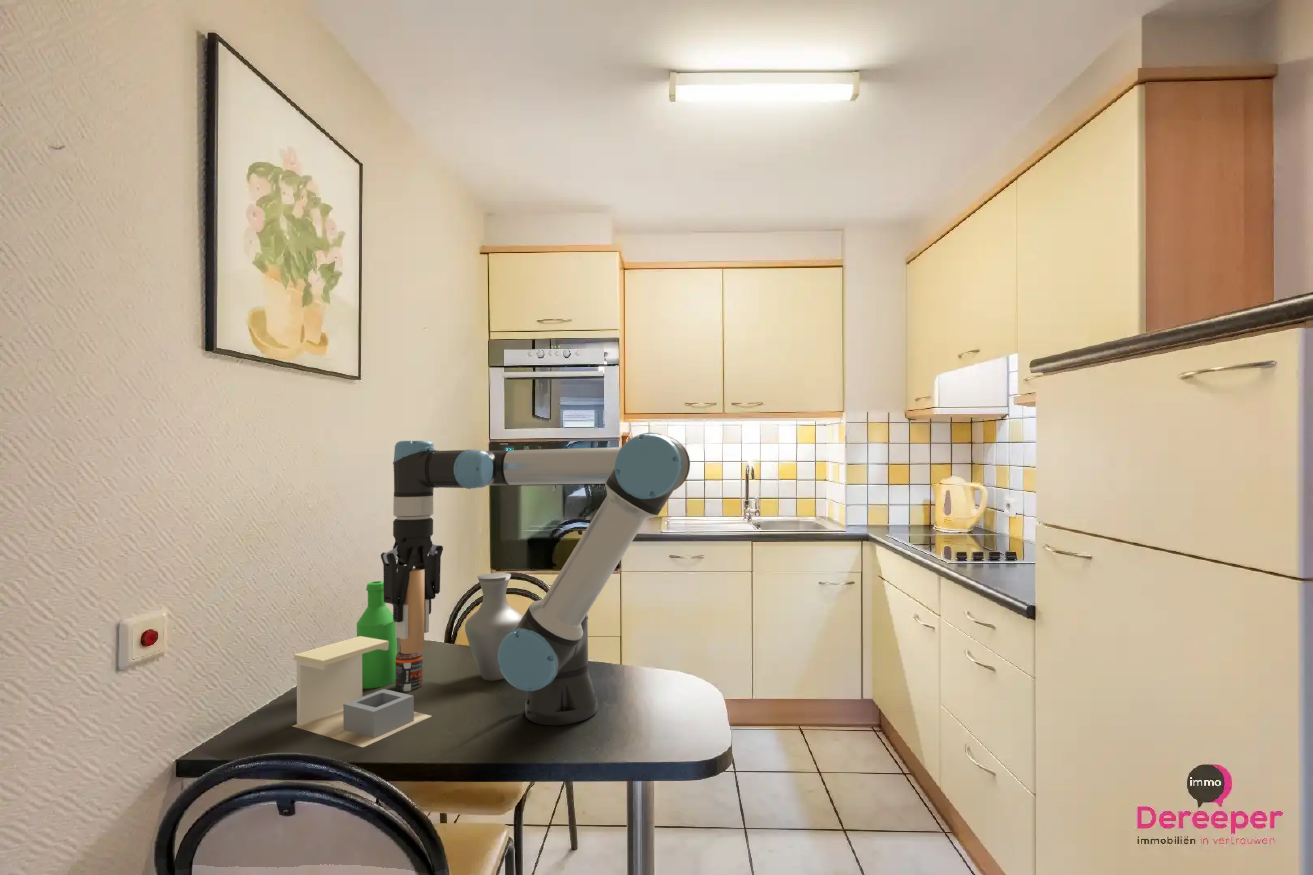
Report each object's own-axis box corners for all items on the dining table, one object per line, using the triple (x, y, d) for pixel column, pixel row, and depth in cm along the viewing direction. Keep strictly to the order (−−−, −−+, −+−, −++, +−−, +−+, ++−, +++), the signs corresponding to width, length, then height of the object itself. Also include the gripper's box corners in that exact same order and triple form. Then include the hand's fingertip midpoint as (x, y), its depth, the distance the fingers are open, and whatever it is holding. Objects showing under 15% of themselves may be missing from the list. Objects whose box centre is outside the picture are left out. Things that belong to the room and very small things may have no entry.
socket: (413, 720, 129) (413, 695, 129) (374, 738, 121) (373, 711, 121) (383, 713, 133) (383, 688, 134) (343, 729, 125) (343, 703, 126)
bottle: (398, 678, 159) (397, 577, 160) (395, 690, 150) (394, 583, 151) (359, 683, 156) (358, 580, 157) (354, 695, 148) (353, 586, 149)
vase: (485, 665, 168) (483, 569, 168) (535, 668, 164) (533, 570, 165) (453, 684, 154) (452, 579, 155) (507, 688, 150) (505, 581, 151)
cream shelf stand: (389, 706, 137) (388, 640, 137) (323, 733, 124) (323, 660, 124) (360, 699, 142) (360, 635, 142) (294, 724, 128) (293, 654, 129)
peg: (428, 649, 128) (429, 569, 129) (410, 655, 124) (411, 572, 125) (413, 646, 130) (414, 567, 131) (395, 651, 126) (396, 570, 127)
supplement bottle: (413, 697, 146) (412, 647, 146) (390, 695, 147) (389, 646, 147) (427, 688, 152) (427, 639, 152) (405, 686, 153) (404, 639, 153)
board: (432, 721, 131) (432, 715, 131) (363, 753, 117) (363, 747, 117) (362, 704, 142) (362, 698, 142) (292, 731, 128) (292, 725, 128)
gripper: (434, 513, 138) (433, 622, 137) (362, 520, 122) (361, 643, 122) (459, 514, 134) (459, 626, 133) (388, 521, 119) (387, 648, 118)
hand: (412, 634), depth 127 cm, fingers closed on peg, 4 cm apart
